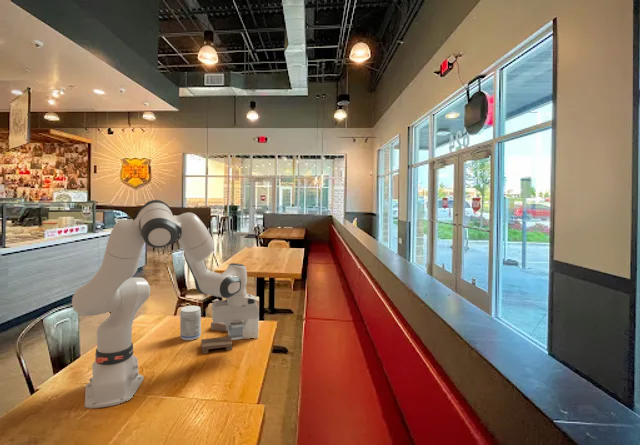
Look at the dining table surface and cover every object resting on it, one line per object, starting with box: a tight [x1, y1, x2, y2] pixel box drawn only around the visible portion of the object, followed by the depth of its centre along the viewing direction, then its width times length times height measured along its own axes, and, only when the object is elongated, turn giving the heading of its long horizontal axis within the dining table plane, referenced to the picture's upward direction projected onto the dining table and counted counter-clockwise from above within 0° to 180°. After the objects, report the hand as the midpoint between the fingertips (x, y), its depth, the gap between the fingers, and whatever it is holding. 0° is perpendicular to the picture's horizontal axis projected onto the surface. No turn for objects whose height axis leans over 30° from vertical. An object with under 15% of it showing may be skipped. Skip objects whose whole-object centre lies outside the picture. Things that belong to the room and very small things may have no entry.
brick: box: [210, 320, 228, 332], centre depth 187 cm, size 17×8×5 cm, turn 79°
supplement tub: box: [179, 305, 202, 341], centre depth 174 cm, size 10×10×15 cm
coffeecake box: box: [227, 296, 260, 340], centre depth 177 cm, size 15×7×20 cm, turn 98°
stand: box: [200, 335, 233, 355], centre depth 164 cm, size 9×13×3 cm
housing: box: [227, 320, 244, 341], centre depth 158 cm, size 9×5×6 cm, turn 23°
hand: (235, 329), depth 158 cm, fingers closed on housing, 5 cm apart
